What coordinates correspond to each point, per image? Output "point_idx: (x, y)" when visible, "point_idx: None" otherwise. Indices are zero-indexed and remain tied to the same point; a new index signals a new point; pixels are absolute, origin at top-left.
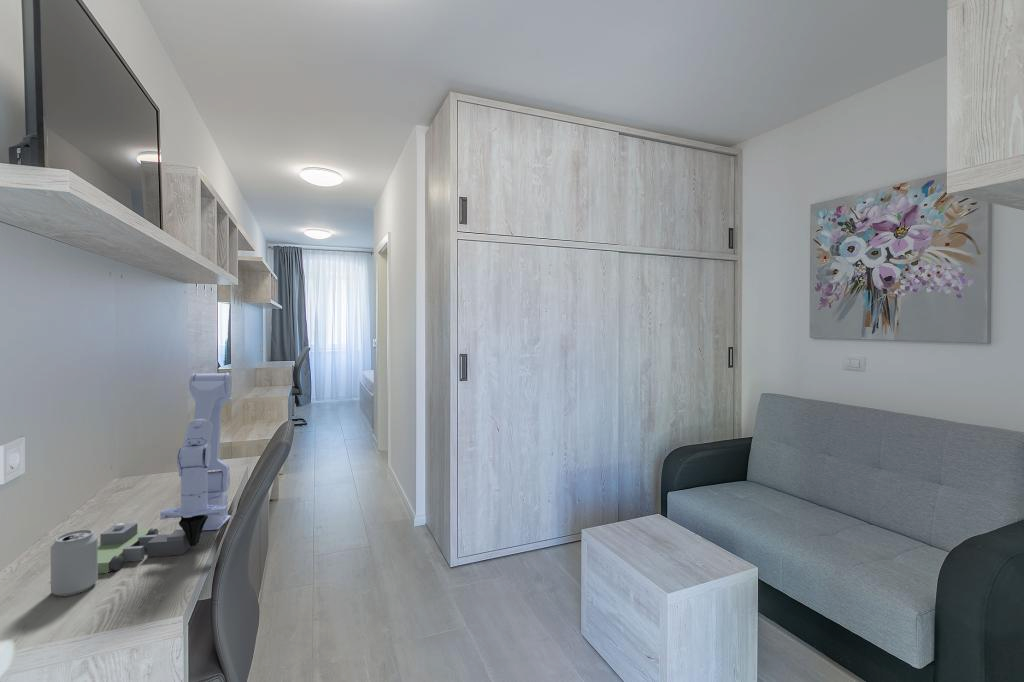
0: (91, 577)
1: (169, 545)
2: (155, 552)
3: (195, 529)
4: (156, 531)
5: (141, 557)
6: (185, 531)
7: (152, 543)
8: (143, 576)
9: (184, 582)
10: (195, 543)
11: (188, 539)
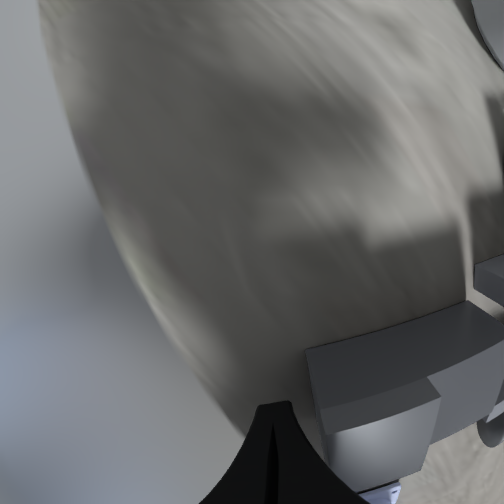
0: (493, 1)
1: (400, 365)
2: (449, 320)
3: (228, 492)
4: (490, 439)
5: (484, 270)
6: (319, 472)
7: (492, 341)
8: (355, 86)
9: (80, 64)
10: (256, 416)
11: (294, 427)
